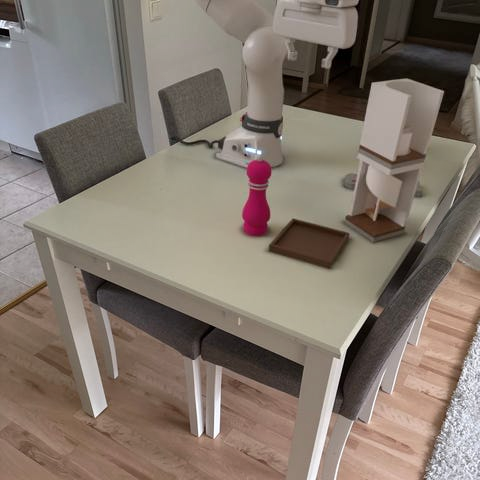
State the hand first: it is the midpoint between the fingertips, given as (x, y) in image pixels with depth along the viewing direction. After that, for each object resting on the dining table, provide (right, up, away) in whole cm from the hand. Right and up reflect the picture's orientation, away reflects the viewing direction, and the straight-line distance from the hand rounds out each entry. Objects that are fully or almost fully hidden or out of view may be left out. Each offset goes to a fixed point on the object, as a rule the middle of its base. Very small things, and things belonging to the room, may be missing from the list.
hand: (308, 63), depth 112 cm
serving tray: (+2, -40, +10) cm, 41 cm away
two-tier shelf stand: (+20, -35, +18) cm, 44 cm away
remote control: (+28, -18, +38) cm, 51 cm away
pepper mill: (-12, -36, +15) cm, 40 cm away
